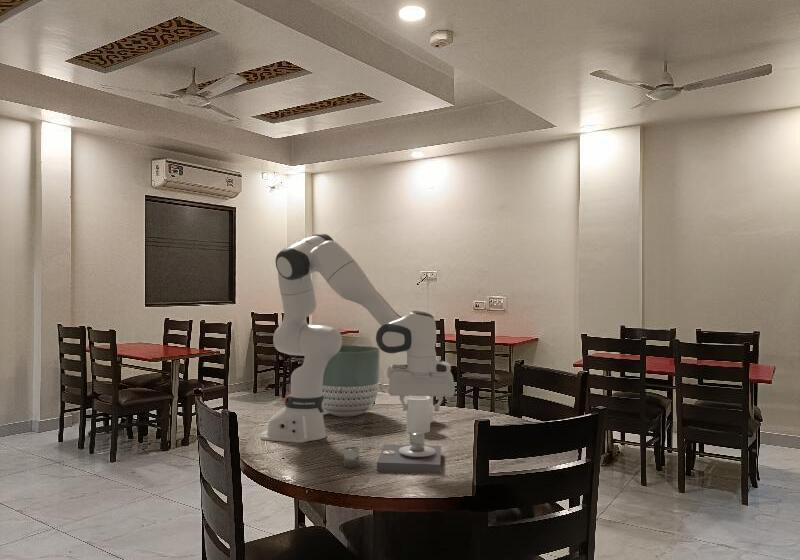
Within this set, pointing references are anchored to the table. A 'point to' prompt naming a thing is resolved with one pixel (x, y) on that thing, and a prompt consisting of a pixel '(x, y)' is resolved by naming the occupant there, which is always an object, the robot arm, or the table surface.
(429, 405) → the c-shaped pipe clip
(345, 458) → the spacer
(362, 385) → the planter
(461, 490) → the table surface
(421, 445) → the cylinder
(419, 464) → the scale
